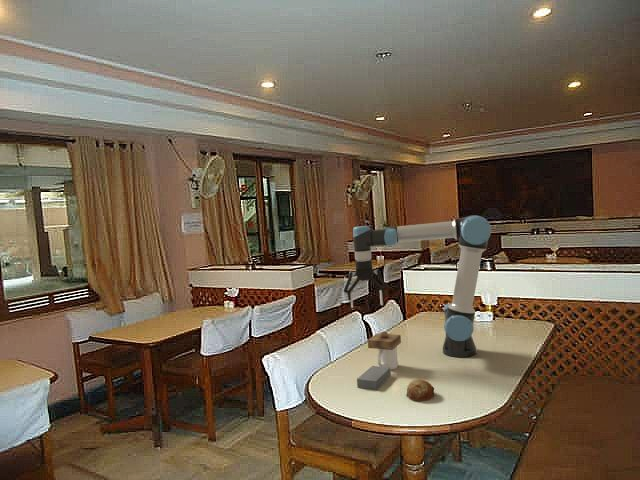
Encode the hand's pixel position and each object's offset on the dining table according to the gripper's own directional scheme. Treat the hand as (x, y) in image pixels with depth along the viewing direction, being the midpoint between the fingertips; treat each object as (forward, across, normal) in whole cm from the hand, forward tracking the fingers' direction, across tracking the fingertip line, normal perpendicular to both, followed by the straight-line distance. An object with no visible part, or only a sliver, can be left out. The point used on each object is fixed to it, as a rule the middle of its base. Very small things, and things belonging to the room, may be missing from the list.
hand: (367, 306), depth 216 cm
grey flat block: (+26, +2, +26) cm, 36 cm away
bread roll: (+26, -13, +43) cm, 52 cm away
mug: (+26, -5, +11) cm, 29 cm away
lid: (+15, -5, +12) cm, 20 cm away
